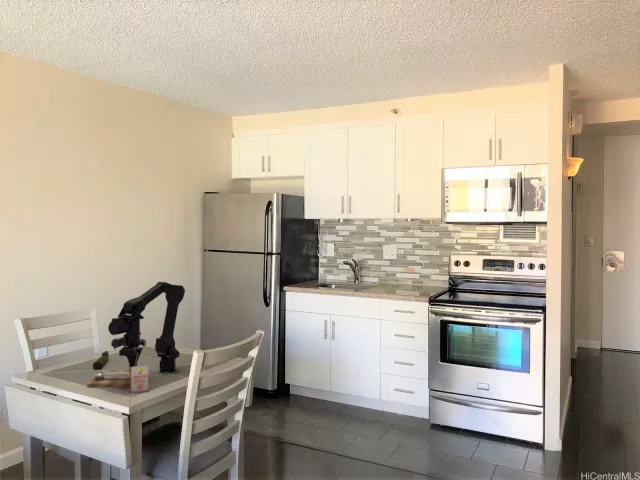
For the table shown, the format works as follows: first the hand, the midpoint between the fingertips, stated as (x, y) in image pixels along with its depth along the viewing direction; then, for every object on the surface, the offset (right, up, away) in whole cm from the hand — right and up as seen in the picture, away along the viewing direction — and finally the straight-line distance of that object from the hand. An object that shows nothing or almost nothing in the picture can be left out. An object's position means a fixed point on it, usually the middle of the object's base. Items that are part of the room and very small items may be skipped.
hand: (133, 367), depth 227 cm
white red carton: (+6, -7, -10) cm, 14 cm away
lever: (-7, -4, 0) cm, 8 cm away
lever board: (-7, -6, +3) cm, 10 cm away
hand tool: (-25, -6, +28) cm, 38 cm away
